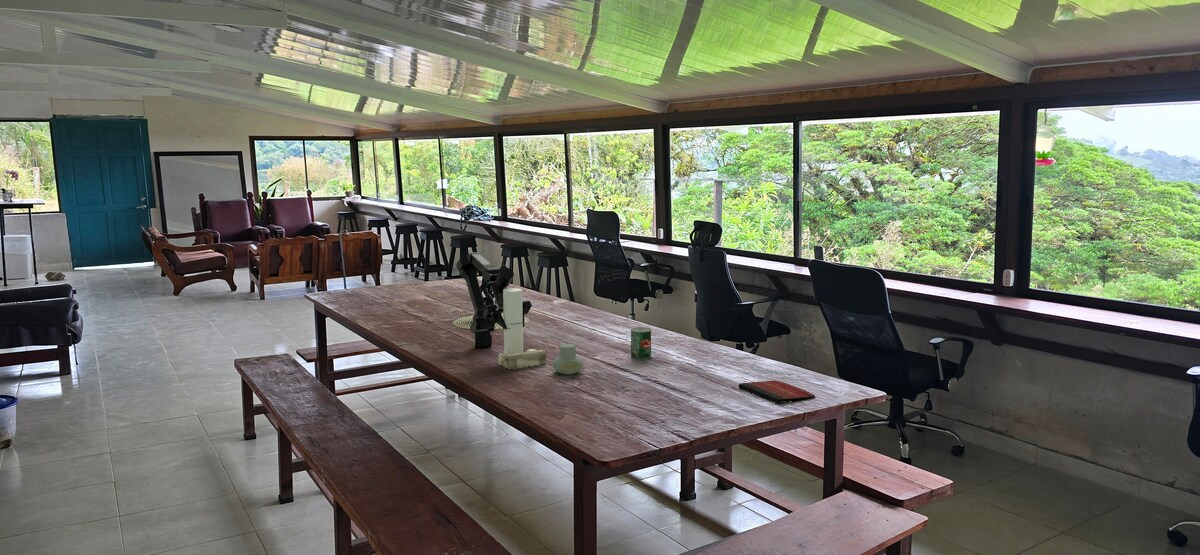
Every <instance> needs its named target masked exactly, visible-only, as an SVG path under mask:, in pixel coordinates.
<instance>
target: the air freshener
mask: <svg viewBox="0 0 1200 555" xmlns="http://www.w3.org/2000/svg"><path fill="white" fill-rule="evenodd" d="M583 367H584V362H583V360H582V359H581V358H580V357H579V356H577V346H576V345H575V344H573V343H562V344H560V345H559V356H558V357H556V358H555V359H554V360H553V362H552V368H553V370H554V371H555V372H557V373H559V374H562V375H566V376H570V375H572V376H573V375H574V374H577V373H578V372H580V371H581V370H582V369H583Z"/></svg>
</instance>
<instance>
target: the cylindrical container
mask: <svg viewBox="0 0 1200 555" xmlns="http://www.w3.org/2000/svg"><path fill="white" fill-rule="evenodd" d="M522 301H523V289H522V288H518V287H513V288H512V287H510V288H508V287H507V289H504V290H503V311H504V312H503V319H504V322H505V324H506V327H507V329H506V330H505V329H504V328H503V349H504V350H503V353H507V354H516V353H522V352H524V337H523V336H524V331H523V330H524V329H523V328H524V327H523V315H522Z"/></svg>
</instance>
